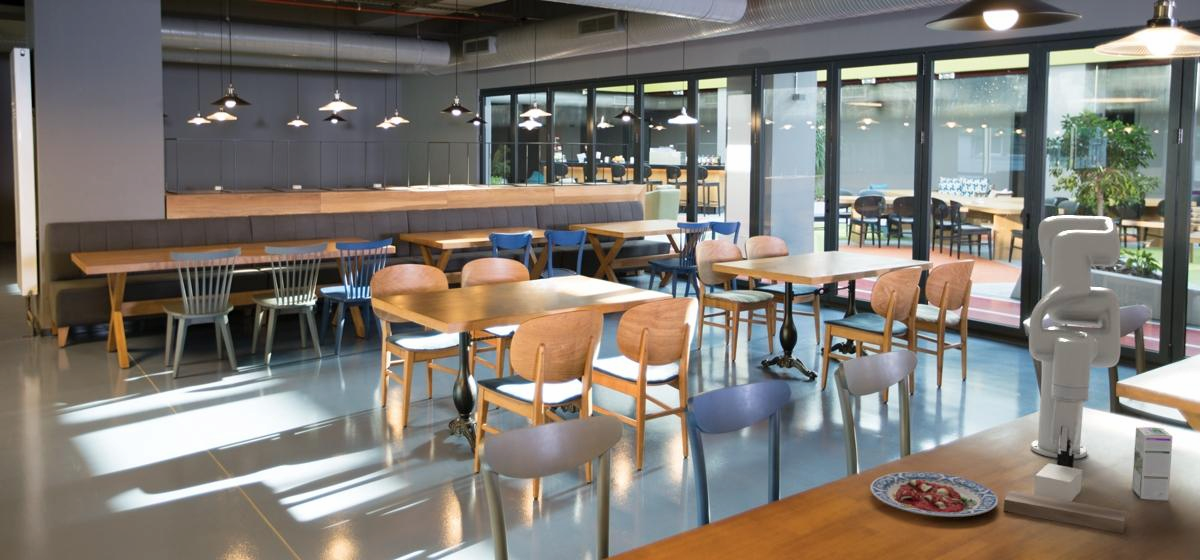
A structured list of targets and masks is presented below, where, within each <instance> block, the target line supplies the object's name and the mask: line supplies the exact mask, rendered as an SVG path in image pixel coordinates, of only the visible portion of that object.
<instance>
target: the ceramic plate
mask: <svg viewBox="0 0 1200 560" xmlns="http://www.w3.org/2000/svg"><path fill="white" fill-rule="evenodd" d="M870 491H871V493H872V495H873V496H874V497H875V498H876V499H878V500H879V501H881V502H882V503H885V504H886V505H888V506H891V507H893V508H896V509H899V510H902V511H904V512H905V511H906V512H910V513H914V514H918V515H923V516H932V517H942V518H943V517H945V518H961V517H971V516H977V515H982V514H985V513H987V512H990V511H991V510H994V509H995V507H996V506H997V505H998V501H999V499H998V496H997V495H996V494H995V493H994V492H993V490H991V489H989V488H988V487H986V486H985V485H983V484H980V483H978V482H976V481H973V480H970V479H967V478H964V477H960V476H955V475H951V474H946V473H938V472H928V471H904V472H895V473H889V474H885V475H882V476H880V477H878V478H875V479H874V480H873V481H872V483H870ZM893 493H894V494H895V497H896V498H895V500H896V501H895V500H894V498H893V496H892V495H893ZM898 502H899V503H898ZM901 503H903V504H906V505H910V504H911V506H913V507H915V508H916V509H915V508H910V507H907V506H904V505H901Z"/></svg>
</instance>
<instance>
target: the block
mask: <svg viewBox="0 0 1200 560" xmlns="http://www.w3.org/2000/svg"><path fill="white" fill-rule="evenodd" d="M1082 478H1083V469H1080V468H1076V467H1073V468H1071V467H1066V466H1061V465H1057V464H1054V463H1047V464H1046V465H1045V466H1043V468H1041V469H1040V471H1038V472H1037V473H1036V474H1035V478H1034V491H1033V493H1034V494H1033V495H1037V496H1043V497H1049V498H1054V499H1060V500H1065V501H1071V502H1073V501H1074V499H1075V498H1076V496H1078V495H1079V493H1080V492H1082Z"/></svg>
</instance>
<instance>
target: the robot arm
mask: <svg viewBox="0 0 1200 560" xmlns="http://www.w3.org/2000/svg"><path fill="white" fill-rule="evenodd" d="M1118 231H1119V230H1118V227H1117V224H1116V221H1115V220H1114V219H1113V218H1112V217H1109V216H1099V215H1098V216H1097V215H1096V216H1093V215H1055V216H1049V217H1046V218H1044V219H1043V220H1041V222H1040V223H1039V225H1038V230H1037V232H1038V233H1037V237H1038V238H1037V239H1038V247H1039V250H1040V254H1041V256H1042V260H1043V262H1044V265H1045V267H1046V272H1047V285H1046V286H1047V293H1046V294H1045V295H1044V296H1043V297H1042V298H1041V299H1040V300H1039V301H1038V302H1037V303H1036V305H1035V306H1034V307H1033V310H1032V312H1031V315H1030V318H1029V319H1030V320H1029V330H1028V331H1029V332H1028V333H1029V335H1028V348H1029V355H1030V356H1031V357H1032V358H1033V359H1034V360H1036V361H1040V362H1041V382H1040V383H1041V385H1040V400H1039V401H1040V402H1039V417H1038V418H1039V419H1038V420H1039V421H1038V433H1037V434H1038V435H1037V439H1036V440H1033V441H1032V442H1031V443H1030V449H1031V450H1032V451H1033V452H1034V453H1036V454H1038V455H1042V456H1045V457H1049V458H1054V459H1056V465H1061V466H1066V467H1071V468H1074V460H1077V459H1082V458H1084V457H1086V456H1087V455H1088V450H1087V448H1086V447H1085V446H1083V445H1081V440H1082V439H1081V437H1082V425H1083V423H1082V422H1083V413H1084V412H1083V411H1084V410H1083V409H1084V403H1087V402H1088V401H1089V395H1090V394H1089V390H1090V378H1091V367H1093V368H1112V367H1115V366H1116V365H1117V364H1118V363H1119V360H1120V358H1121V313H1120V312H1121V309H1120V308H1121V307H1120V298H1119V297H1118V295H1117V293H1116V292H1115V291H1114V290H1113V289H1111V288H1109V287H1108V288H1107V287H1100V286H1099V287H1097V286H1092V267H1095V266H1096V267H1098V266H1099V267H1112V266H1115V265H1116V264H1117V263H1118V261H1119V258H1120V254H1121V240H1120V239H1121V238H1120V235H1119V232H1118ZM1047 315H1048V318H1049V319H1050V320H1051V321H1052V322H1054V323H1058V325H1053V326H1049V327H1046V328H1043V321H1044V318H1045V317H1046V316H1047ZM1059 324H1060V325H1059ZM1061 324H1062V325H1061ZM1075 325H1076V326H1075ZM1091 326H1092V327H1091ZM1093 326H1094V327H1093Z"/></svg>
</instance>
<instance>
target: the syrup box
mask: <svg viewBox="0 0 1200 560" xmlns="http://www.w3.org/2000/svg"><path fill="white" fill-rule="evenodd" d="M1134 438H1135V441H1134V454H1133V455H1134V456H1133V457H1134V458H1133V468H1132V469H1133V471H1132V491H1133V492H1134V493H1135V494H1136V495H1137V496H1138V497H1139V498H1140V499H1141V500H1148V501H1169V497H1170V496H1169V495H1170V486H1171V483H1170V482H1171V469H1172V468H1171V465H1172V452H1173V451H1172V448H1173V435H1172V434H1170V433H1169V432H1168V431H1166V430H1165V429H1164V428H1162V427H1161V428H1160V427H1153V426H1152V427H1151V426H1150V427H1148V426H1147V427H1144V426H1143V427H1136V428H1135V437H1134Z"/></svg>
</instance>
